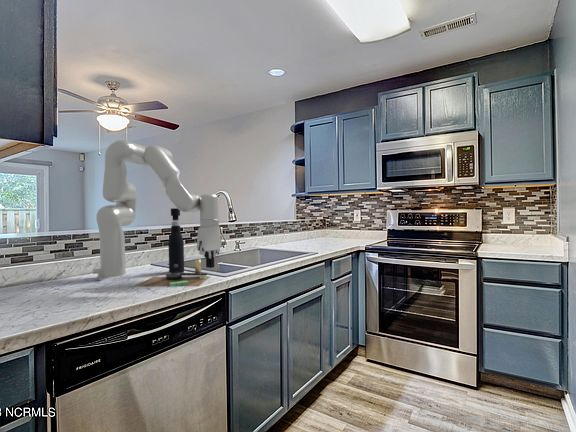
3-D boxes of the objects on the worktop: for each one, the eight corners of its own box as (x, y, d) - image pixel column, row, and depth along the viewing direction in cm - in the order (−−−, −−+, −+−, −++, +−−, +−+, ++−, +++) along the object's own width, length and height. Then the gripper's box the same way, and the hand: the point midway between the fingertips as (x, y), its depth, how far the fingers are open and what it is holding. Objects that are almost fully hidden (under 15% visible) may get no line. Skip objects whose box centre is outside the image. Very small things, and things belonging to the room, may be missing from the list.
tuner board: (133, 290, 117) (133, 283, 117) (153, 280, 133) (153, 274, 133) (198, 290, 116) (198, 283, 116) (210, 280, 132) (210, 274, 132)
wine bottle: (179, 273, 147) (177, 208, 146) (187, 275, 143) (185, 208, 142) (166, 275, 142) (164, 208, 141) (174, 277, 138) (172, 208, 137)
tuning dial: (163, 279, 126) (163, 261, 126) (169, 276, 132) (169, 258, 132) (204, 279, 126) (204, 260, 126) (209, 276, 132) (208, 258, 132)
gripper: (215, 222, 142) (216, 263, 142) (189, 224, 129) (190, 269, 130) (228, 223, 138) (229, 265, 138) (202, 225, 125) (203, 271, 126)
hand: (210, 267), depth 134 cm, fingers closed
